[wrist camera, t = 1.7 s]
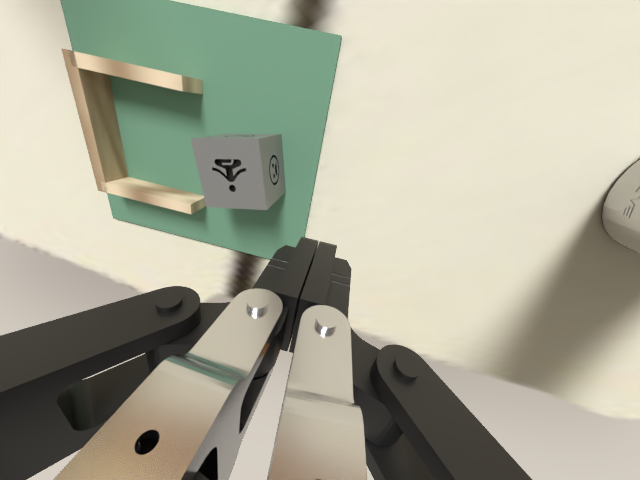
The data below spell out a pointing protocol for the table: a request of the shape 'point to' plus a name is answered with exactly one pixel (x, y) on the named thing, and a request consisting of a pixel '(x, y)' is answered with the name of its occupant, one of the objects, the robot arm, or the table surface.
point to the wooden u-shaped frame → (104, 130)
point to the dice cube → (240, 170)
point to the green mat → (212, 107)
